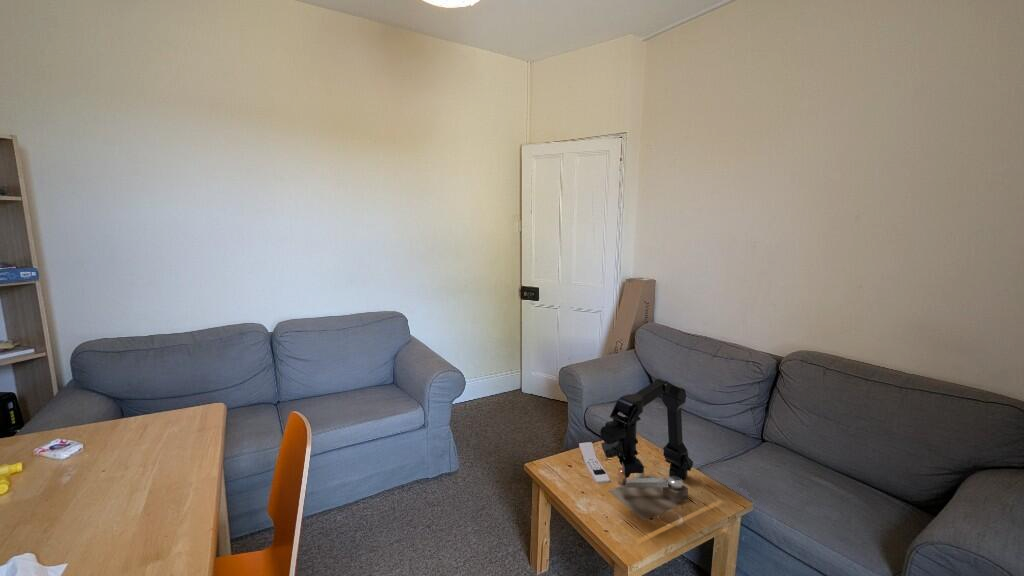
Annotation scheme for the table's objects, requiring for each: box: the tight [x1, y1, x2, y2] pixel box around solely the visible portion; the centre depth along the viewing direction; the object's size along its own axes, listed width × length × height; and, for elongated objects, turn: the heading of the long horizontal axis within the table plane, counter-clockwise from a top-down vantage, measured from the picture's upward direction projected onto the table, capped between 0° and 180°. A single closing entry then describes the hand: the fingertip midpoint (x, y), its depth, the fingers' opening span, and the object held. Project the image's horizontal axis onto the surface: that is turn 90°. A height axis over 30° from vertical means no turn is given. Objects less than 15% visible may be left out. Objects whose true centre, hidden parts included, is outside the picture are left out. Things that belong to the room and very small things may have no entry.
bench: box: [607, 473, 690, 522], centre depth 150 cm, size 22×18×6 cm
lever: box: [617, 467, 684, 490], centre depth 148 cm, size 23×5×6 cm, turn 89°
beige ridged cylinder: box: [632, 469, 646, 478], centre depth 156 cm, size 4×4×6 cm
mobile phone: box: [578, 441, 610, 484], centre depth 168 cm, size 6×6×25 cm
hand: (626, 477), depth 142 cm, fingers closed
